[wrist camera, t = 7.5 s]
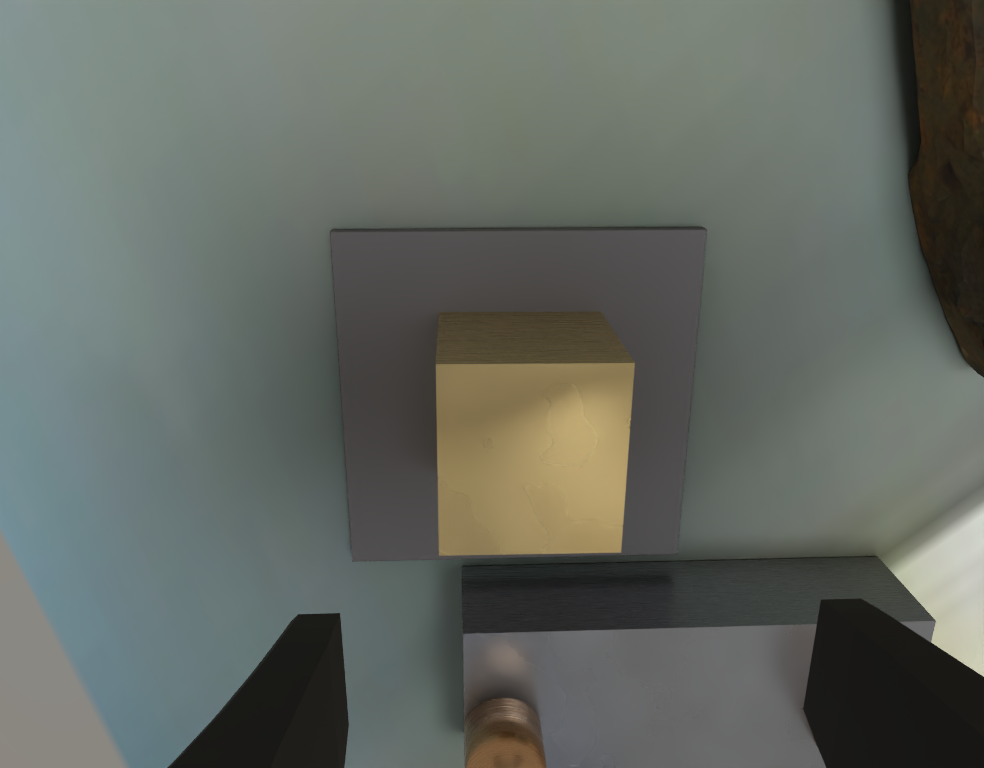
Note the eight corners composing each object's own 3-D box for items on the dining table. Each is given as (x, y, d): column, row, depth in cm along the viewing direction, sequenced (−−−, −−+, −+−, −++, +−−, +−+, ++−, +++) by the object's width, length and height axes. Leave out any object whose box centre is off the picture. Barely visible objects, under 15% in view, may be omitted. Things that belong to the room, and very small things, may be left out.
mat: (673, 546, 23) (676, 553, 23) (353, 554, 23) (352, 561, 22) (702, 226, 20) (706, 229, 19) (332, 229, 19) (330, 232, 19)
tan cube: (600, 311, 20) (635, 363, 16) (592, 471, 22) (621, 552, 18) (439, 312, 20) (435, 364, 16) (441, 473, 21) (439, 555, 18)
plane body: (846, 721, 25) (957, 902, 20) (464, 734, 25) (466, 922, 19) (877, 556, 23) (1012, 705, 18) (461, 566, 23) (464, 723, 17)
